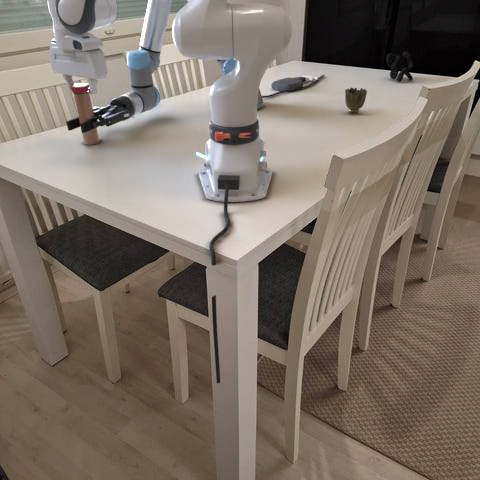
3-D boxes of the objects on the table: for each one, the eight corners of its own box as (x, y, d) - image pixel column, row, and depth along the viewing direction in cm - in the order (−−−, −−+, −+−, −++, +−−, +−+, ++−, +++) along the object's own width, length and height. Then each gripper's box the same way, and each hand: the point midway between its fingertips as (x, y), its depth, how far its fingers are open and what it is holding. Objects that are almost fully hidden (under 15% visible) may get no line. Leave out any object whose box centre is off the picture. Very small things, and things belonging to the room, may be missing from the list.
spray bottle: (268, 89, 190) (300, 79, 206) (290, 92, 184) (320, 82, 200) (269, 81, 189) (300, 72, 205) (290, 85, 183) (321, 75, 199)
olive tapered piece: (340, 114, 157) (342, 91, 153) (346, 109, 163) (348, 86, 159) (361, 116, 154) (364, 93, 150) (366, 111, 160) (369, 88, 156)
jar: (88, 145, 135) (76, 90, 126) (81, 142, 138) (69, 87, 129) (102, 141, 138) (91, 87, 129) (95, 138, 140) (84, 84, 132)
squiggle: (400, 92, 202) (376, 71, 205) (417, 76, 202) (392, 56, 205) (405, 81, 191) (380, 59, 194) (423, 64, 191) (397, 42, 194)
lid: (94, 89, 130) (93, 83, 129) (79, 93, 126) (78, 87, 125) (82, 87, 132) (80, 81, 131) (67, 91, 129) (66, 85, 128)
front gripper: (39, 39, 125) (51, 90, 133) (87, 44, 116) (97, 98, 123) (58, 36, 130) (68, 85, 137) (106, 41, 120) (115, 93, 127)
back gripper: (149, 121, 146) (100, 143, 129) (107, 115, 153) (55, 135, 136) (146, 98, 142) (95, 117, 125) (103, 92, 149) (49, 110, 132)
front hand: (82, 92), depth 130 cm, fingers open, 7 cm apart
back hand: (75, 127), depth 130 cm, fingers closed on jar, 5 cm apart
